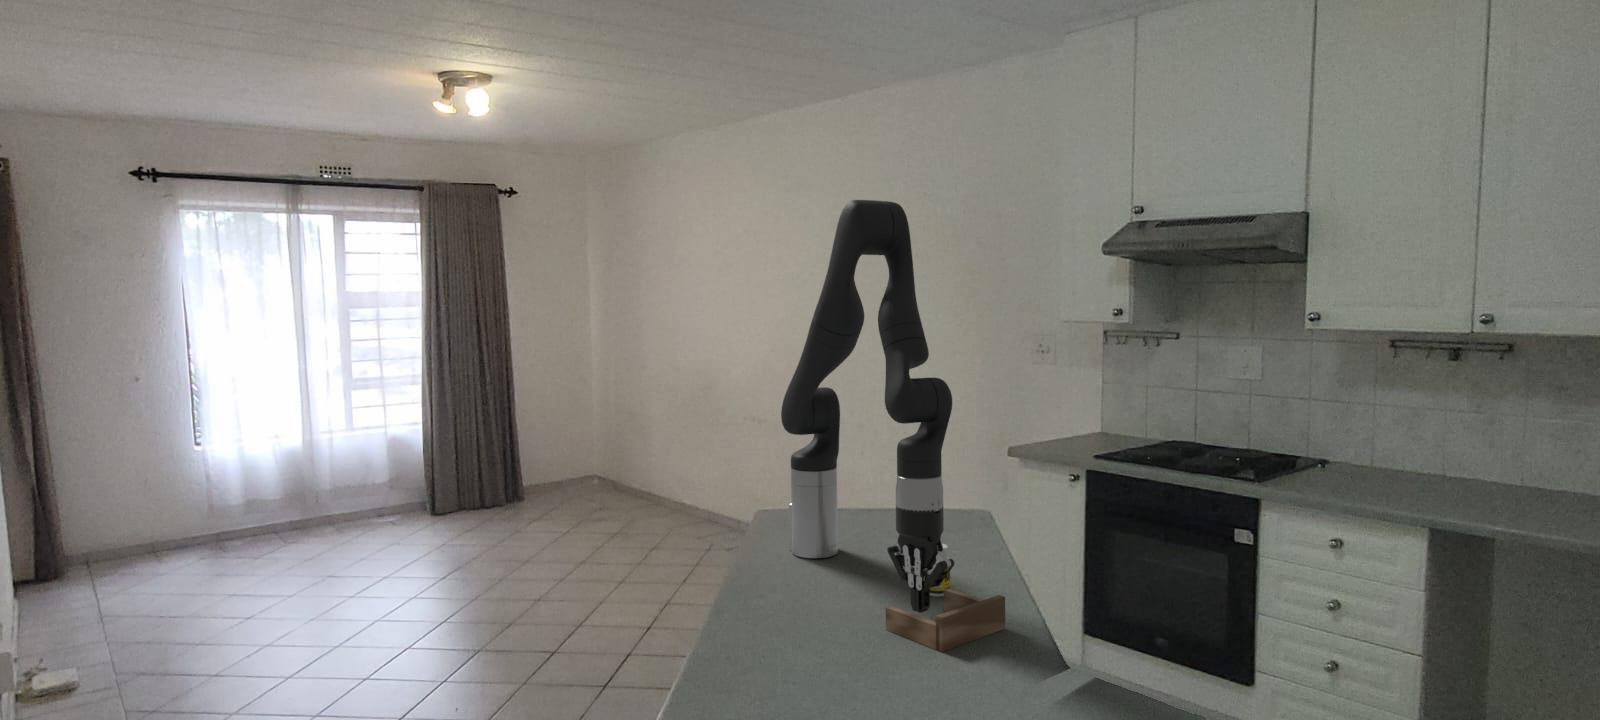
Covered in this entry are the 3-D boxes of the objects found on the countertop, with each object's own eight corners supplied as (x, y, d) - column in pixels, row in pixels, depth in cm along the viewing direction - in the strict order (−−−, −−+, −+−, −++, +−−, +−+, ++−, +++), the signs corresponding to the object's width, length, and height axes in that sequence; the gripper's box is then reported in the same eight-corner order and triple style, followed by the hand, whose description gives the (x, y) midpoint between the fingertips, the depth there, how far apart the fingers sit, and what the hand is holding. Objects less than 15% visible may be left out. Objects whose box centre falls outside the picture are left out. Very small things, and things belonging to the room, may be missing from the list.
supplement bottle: (950, 598, 146) (949, 550, 145) (922, 596, 147) (922, 548, 146) (950, 589, 150) (950, 542, 150) (923, 588, 151) (923, 541, 151)
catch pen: (885, 629, 131) (885, 598, 131) (948, 609, 140) (948, 579, 140) (942, 652, 122) (942, 618, 122) (1005, 628, 131) (1005, 596, 131)
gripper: (873, 500, 137) (874, 605, 138) (934, 514, 127) (935, 627, 128) (906, 493, 142) (907, 595, 143) (967, 506, 132) (967, 616, 132)
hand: (920, 610), depth 135 cm, fingers closed
